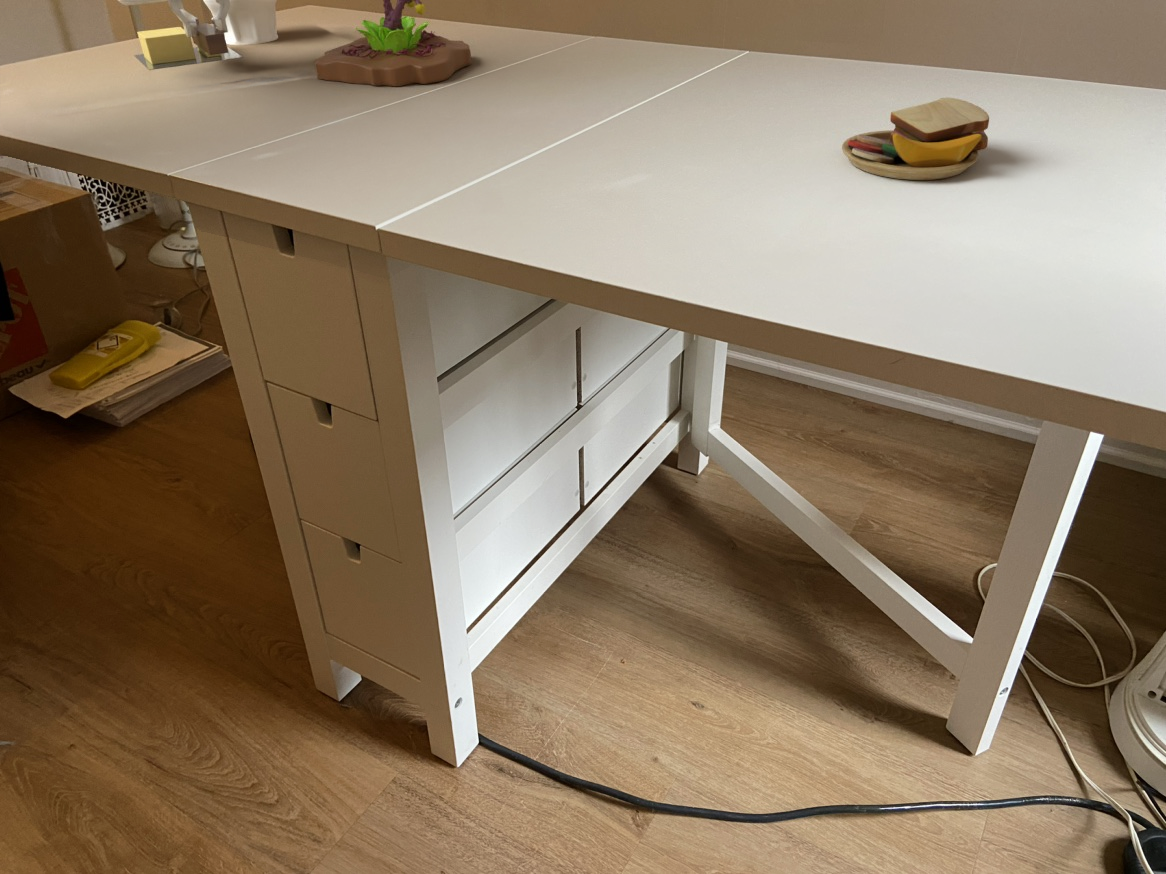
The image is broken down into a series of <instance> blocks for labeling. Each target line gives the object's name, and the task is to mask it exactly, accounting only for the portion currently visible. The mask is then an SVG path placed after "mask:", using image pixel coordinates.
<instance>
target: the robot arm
mask: <svg viewBox="0 0 1166 874" xmlns="http://www.w3.org/2000/svg"><path fill="white" fill-rule="evenodd" d="M116 1H117V2H118V3H120V4H121V5H122V6H135V5H143V4H153V3H162V2H163V3H164V2H167V3H168V7H169V9H170V10H171V12H172V13H173V14H174V15H175V16H176V17H177V19H178V20H179V21H180V22H182V26H183V29H184V30H185V33H186V36H187V37H190V38H192V37H194V36H199V32H198V30H197V28H198V27H197V23H196V22H195V21H194V20H191V21H188V19H187V18H186V17H185V16H184V15H183V14H182V12H181V10H180V9H184V4H183V1H182V0H116ZM216 2H217V3H218V4H220V7H219V11H218V15H217V17H216V18H213V17H210V19H211V23H212V24H211V25H212V26H213V27H214V28H216V29H218V30H219V31H221V32H222V33H227V32H228V29H227V25H226V21H225V18H226V16H227V13H228V10H229V6H230V1H229V0H216Z"/></svg>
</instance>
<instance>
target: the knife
mask: <svg viewBox="0 0 1166 874" xmlns="http://www.w3.org/2000/svg"><path fill="white" fill-rule="evenodd" d="M179 10H180V11H181V12H182V14H183V15H184V16H185V17H186V18H187V19H188V21H191V20H194V21H195V22H196V23H197V27H198V28H197V30H198V32H199V36H194V37H191V39H192V43H193V44H194V45H196V47H197V46H199V47H200V48H201V49H203V50H204V51H205V52H207V53H208V54H210V55H215V54H222V53H228V48H229V47H228V44H226V40H225V36H224V33H222V32H221V31H219V30H218V29H216V28H214V27H213V26H214V25H212V24H209V23H208V22H200V21H199V18H198V17H196V16H194V15H193V14H192V13H190V12H189V11H187V10H185V9H184V8H183V9H179ZM227 47H228V48H227Z"/></svg>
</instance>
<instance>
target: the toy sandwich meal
mask: <svg viewBox="0 0 1166 874" xmlns="http://www.w3.org/2000/svg"><path fill="white" fill-rule="evenodd" d="M889 122H890V123H892V124H893V125H894V129H893V130H891V129H890V130H876V131H867V132H864V133H859V134H856V135H853V136H850V137H849V138H847V139H846V140H845V141H844V142H843V143H842V145H841V150H842V152H843V154H844V155H845V156H846V157H847V158H848V160H849V162H850V163H851V164H852V165H853V166H855V168H857V169H859V170H861V171H864V172H866V173H869V174H873V175H875V176H881V177H885V178H889V179H890V178H891V179H898V180H909V181H931V180H932V181H933V180H941V179H946V178H947V179H948V178H952V177H955V176H957V175H960V174H962V173H963V172H965V171H966V170H967V169H968V168H970V167H971V166H973V165H974V164H976V162H977V161H978V160H979V157H980V155H979V151H985V150H986V149H987V148H988V143H989V137H988V135H987V133H986V132H985V131H986V130H987V129H988V128H989V123H990V115H989V114H988V112H987V111H986V110H984V109H983V108H982V107H980V106H979V105H977V104H974V103H972V102H969V101H967V100H963V99H959V98H955V97H941V98H939V99H937V100H934V101H929V102H925V103H921V104H918V105H914V106H909V107H906V108H902V109H898V110H894V111H891V112H890V121H889Z"/></svg>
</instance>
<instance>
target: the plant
mask: <svg viewBox="0 0 1166 874" xmlns="http://www.w3.org/2000/svg"><path fill="white" fill-rule="evenodd" d="M382 1H383V9H384V16H382V17H380V19H379V24H378V23H376V22H373V21H371V20H366V19H362V22H361V24H362V27H364V28H365V29H366V30H365V29H361V28H358V27H356V28H355V30H357V31H358V32H359V33H360V34H362V35H363V36H364V37H360V38H357V39H356V40H353V41H352V42H349V43H346V44H343V45H340V46H338V47H335V48H331V49H330V50H326V51H325V52H324V54H323V55H322V56H321V57H319V58H318V59H317V60H315V70H316V78H317V79H320V80H325V81H331V82H343V83H346V84H357V85H372V86H375V87H377V86H380V87H381V86H390V87H403V86H406V85H412V84H413V85H414V84H421V85H428V84H433V83H439V82H443V81H446V80H448V79H450V78H451V77H452V75H453V74H454V73H455V72H457V71H459V70H461V69H462V68H465V67H468V66H470V65H472V55H471V48H470V46H469V45H470V44H468V43H466V42H464V41H463V40H453V39H448V38H446V37H443V36H440V35H437V34H436V33H434V32H433V31H432V30H431V31H430V32H427V30H425V28H427V27H428V25H429V24H430V21H426V22H423V23H421V24H420V25H419V26H417V28H416V29H415V31H414V32H413V29H414V28H415V27H416V24H417V23H416V18H415V16H412V17H410V16H408V15H406V16H404V17H403V14H402V13H403V10H404V9H405V5H406V6H407V7H409V8H413V7H414V9H415V12H416V13H417V14H419V15H421V16H422V15H423V14H424V13H425V10H426V7H425V4H424V3H423V2H422V1H421V0H397V1H396V4H395V5H396V6H395V8H393V5H392V2H391V0H382Z"/></svg>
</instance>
